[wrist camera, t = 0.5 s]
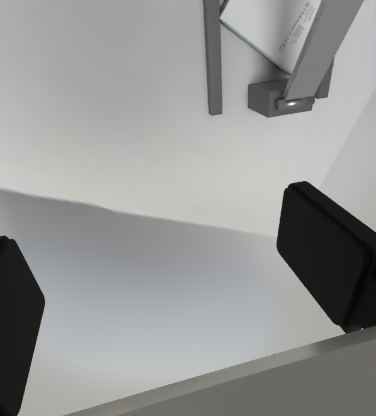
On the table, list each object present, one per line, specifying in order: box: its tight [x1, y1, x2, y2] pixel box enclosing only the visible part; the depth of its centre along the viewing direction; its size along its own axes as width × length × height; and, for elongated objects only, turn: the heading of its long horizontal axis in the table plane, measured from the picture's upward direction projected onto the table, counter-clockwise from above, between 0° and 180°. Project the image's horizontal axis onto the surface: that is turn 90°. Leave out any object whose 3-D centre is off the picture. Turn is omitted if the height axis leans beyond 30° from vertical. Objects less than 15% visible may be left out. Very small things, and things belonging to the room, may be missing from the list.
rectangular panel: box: [276, 0, 364, 111], centre depth 26 cm, size 18×6×1 cm, turn 6°
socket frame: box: [204, 0, 334, 117], centre depth 31 cm, size 21×18×9 cm
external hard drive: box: [219, 0, 321, 75], centre depth 33 cm, size 2×8×12 cm
